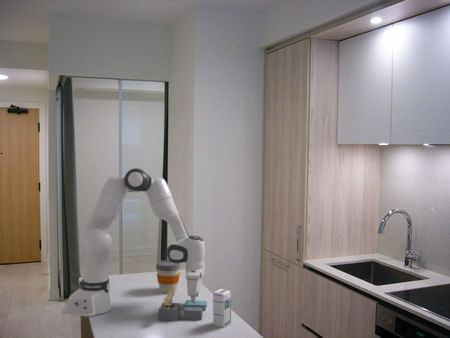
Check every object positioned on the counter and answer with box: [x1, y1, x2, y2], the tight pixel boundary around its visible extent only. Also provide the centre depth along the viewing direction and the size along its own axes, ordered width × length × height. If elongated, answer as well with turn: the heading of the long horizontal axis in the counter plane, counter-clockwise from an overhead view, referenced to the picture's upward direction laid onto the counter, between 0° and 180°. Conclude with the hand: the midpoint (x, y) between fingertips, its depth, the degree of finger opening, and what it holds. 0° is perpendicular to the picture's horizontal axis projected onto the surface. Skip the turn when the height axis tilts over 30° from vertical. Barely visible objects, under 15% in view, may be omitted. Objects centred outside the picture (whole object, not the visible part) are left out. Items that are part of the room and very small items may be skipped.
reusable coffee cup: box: [155, 259, 181, 294], centre depth 240 cm, size 13×13×15 cm
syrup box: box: [212, 288, 232, 328], centre depth 196 cm, size 6×6×14 cm
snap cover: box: [183, 299, 208, 312], centre depth 216 cm, size 10×6×3 cm, turn 86°
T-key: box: [164, 289, 176, 308], centre depth 204 cm, size 14×2×10 cm, turn 176°
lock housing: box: [158, 302, 203, 322], centre depth 204 cm, size 18×8×5 cm, turn 86°
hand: (194, 299), depth 215 cm, fingers open, 8 cm apart
